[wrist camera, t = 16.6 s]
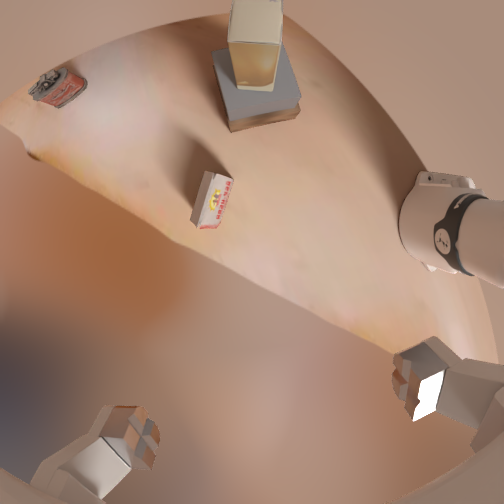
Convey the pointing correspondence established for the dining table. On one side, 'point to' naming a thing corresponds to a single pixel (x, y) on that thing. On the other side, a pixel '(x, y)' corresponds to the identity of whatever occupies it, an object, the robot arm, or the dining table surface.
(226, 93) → the tower top block
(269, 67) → the skincare box
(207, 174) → the white red printed carton
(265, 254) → the dining table surface
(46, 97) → the lighter
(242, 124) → the tower base block
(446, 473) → the robot arm
